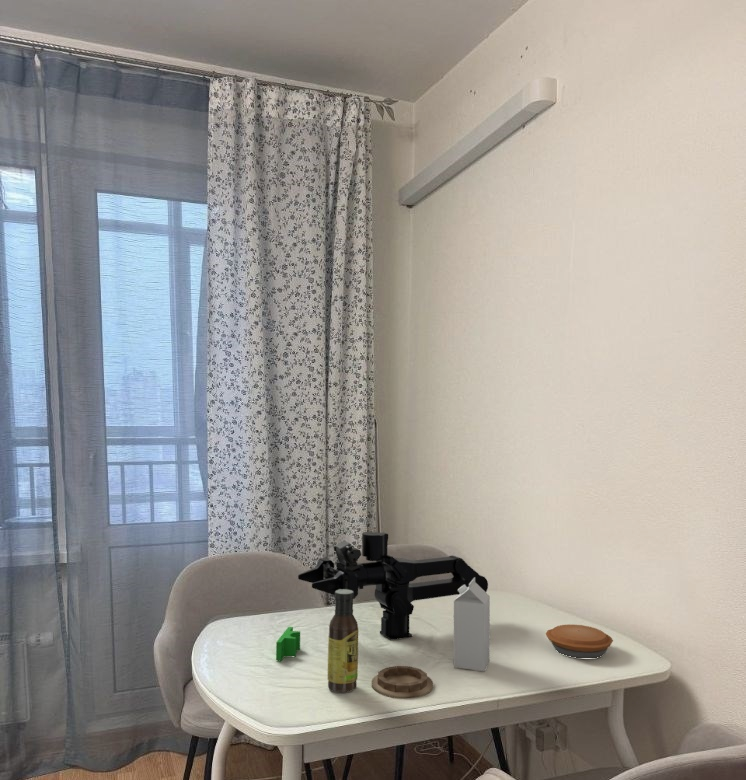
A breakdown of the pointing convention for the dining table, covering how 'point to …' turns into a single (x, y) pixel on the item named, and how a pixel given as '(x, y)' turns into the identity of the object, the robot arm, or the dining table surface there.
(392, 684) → the ring holder
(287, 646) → the pipe clamp
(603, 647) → the pie
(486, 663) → the milk carton
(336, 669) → the sauce bottle
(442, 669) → the dining table surface
